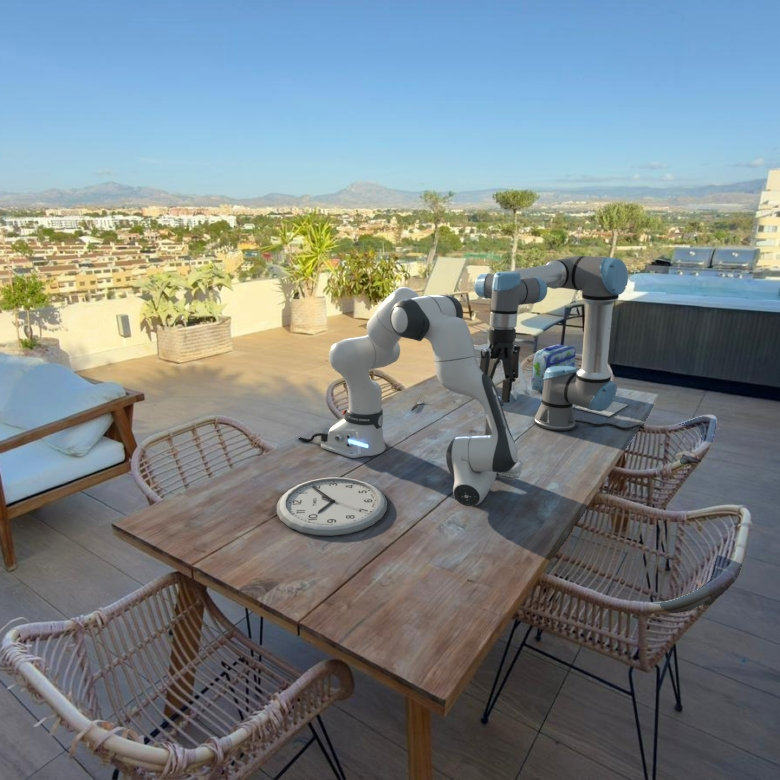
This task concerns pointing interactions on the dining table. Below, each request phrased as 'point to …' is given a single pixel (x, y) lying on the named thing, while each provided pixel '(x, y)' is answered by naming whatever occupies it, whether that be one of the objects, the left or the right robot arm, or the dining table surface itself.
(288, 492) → the wall clock
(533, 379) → the lunch box
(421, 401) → the fork
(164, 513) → the dining table surface
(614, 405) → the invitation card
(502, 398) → the cap
